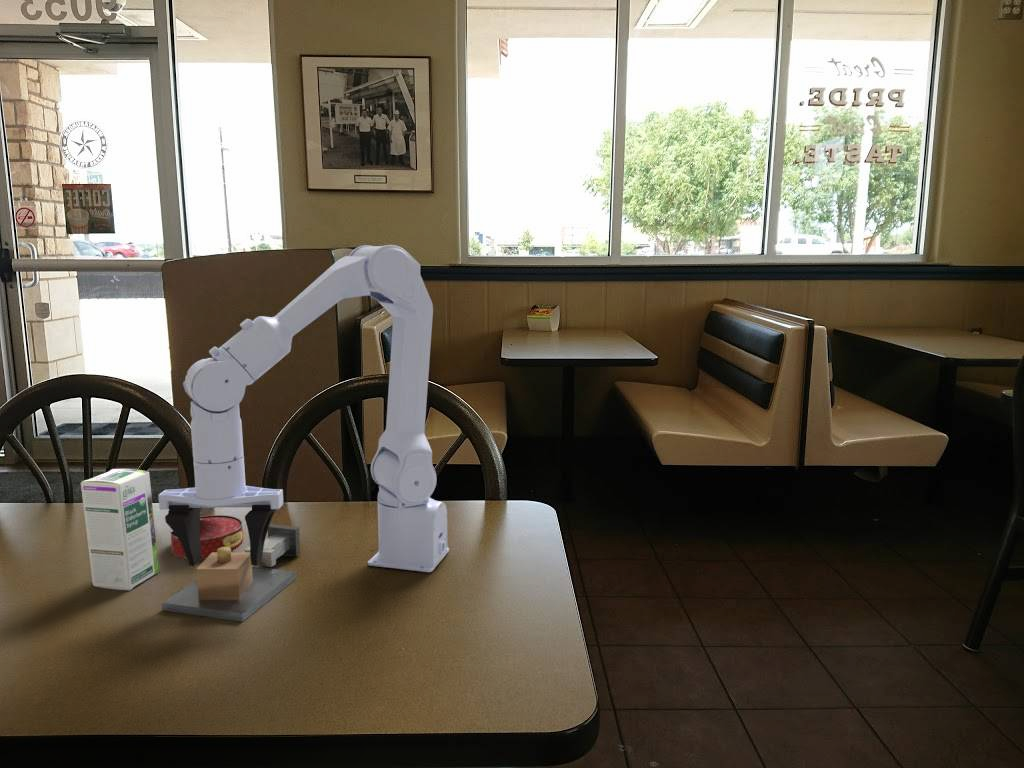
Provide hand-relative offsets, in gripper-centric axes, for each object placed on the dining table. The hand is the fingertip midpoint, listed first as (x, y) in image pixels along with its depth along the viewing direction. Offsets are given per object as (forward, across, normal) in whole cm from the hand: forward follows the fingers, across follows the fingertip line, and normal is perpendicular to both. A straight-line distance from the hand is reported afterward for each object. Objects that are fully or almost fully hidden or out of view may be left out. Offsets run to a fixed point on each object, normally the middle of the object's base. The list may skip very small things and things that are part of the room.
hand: (226, 562), depth 92 cm
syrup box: (+5, +15, -5) cm, 17 cm away
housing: (+4, 0, 0) cm, 4 cm away
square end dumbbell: (+4, -3, -10) cm, 11 cm away
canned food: (+5, +9, -17) cm, 20 cm away
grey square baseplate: (+5, 0, -1) cm, 5 cm away
